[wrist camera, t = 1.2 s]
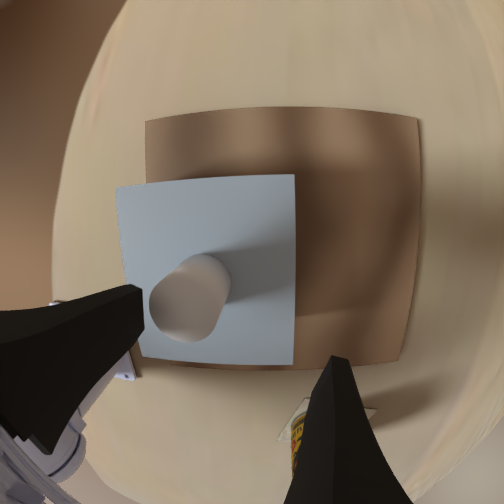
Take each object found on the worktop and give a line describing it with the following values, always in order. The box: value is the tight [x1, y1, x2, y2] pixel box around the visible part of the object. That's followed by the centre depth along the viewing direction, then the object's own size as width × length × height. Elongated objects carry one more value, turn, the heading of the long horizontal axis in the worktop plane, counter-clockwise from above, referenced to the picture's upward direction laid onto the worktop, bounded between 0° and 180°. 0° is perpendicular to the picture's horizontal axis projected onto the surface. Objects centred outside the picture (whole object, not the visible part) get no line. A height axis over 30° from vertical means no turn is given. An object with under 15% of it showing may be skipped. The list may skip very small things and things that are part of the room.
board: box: [145, 107, 421, 370], centre depth 19 cm, size 20×20×1 cm
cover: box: [115, 174, 296, 365], centre depth 15 cm, size 9×10×9 cm
